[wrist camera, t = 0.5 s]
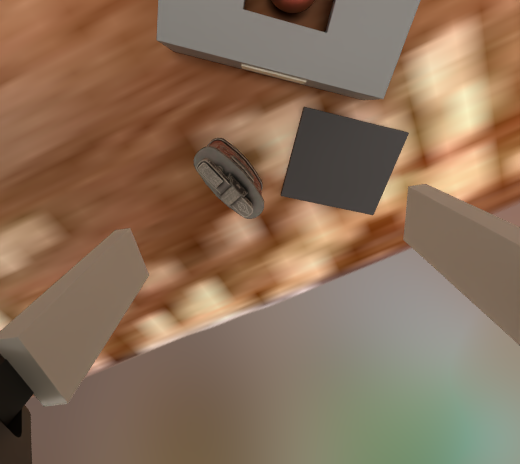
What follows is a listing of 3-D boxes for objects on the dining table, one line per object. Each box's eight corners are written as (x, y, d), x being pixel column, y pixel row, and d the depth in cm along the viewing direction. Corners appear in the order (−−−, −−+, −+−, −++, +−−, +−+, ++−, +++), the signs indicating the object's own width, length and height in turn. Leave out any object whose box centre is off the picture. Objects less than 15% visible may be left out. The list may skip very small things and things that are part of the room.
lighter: (268, 183, 32) (273, 214, 23) (248, 201, 33) (245, 237, 24) (221, 130, 29) (206, 141, 20) (200, 151, 30) (177, 170, 21)
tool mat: (280, 194, 33) (281, 195, 32) (303, 106, 28) (304, 106, 28) (371, 213, 34) (373, 215, 33) (406, 132, 30) (408, 132, 29)
